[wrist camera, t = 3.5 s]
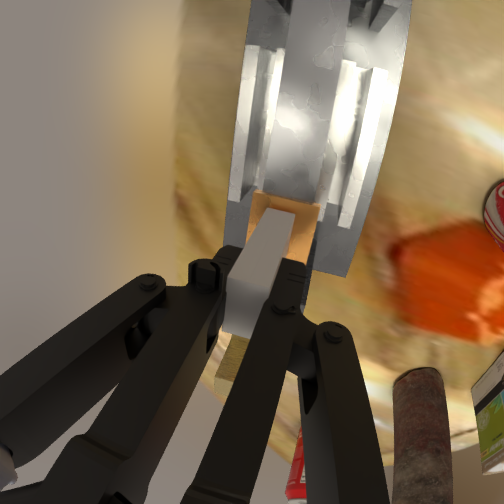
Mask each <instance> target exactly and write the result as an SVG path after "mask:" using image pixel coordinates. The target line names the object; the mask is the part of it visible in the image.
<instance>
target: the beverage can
mask: <svg viewBox="0 0 504 504" xmlns="http://www.w3.org/2000/svg"><path fill="white" fill-rule="evenodd" d="M484 220H485V225H486V228H487V230H488V232H489V233H490V234H491V236H492V237H493V238H494V240H495V241H496V242H497V244H498V245H499V247H500V248H501V249H502V251H503V252H504V182H502V183H500V184H499V185H498V186H497V187H496V188H495V189H494V190H493V191H492V193H491V194H490V196H489V198H488V200H487V203H486V206H485V212H484Z"/></svg>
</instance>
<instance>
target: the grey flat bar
mask: <svg viewBox="0 0 504 504" xmlns="http://www.w3.org/2000/svg"><path fill="white" fill-rule="evenodd" d="M350 2H351V0H293V6H292V12H291V19H290V25H289V31H288V37H287V43H286V49H285V55H284V61H283V67H282V73H281V80H280V86H279V92H278V98H277V104H276V110H275V116H274V122H273V128H272V134H271V140H270V147H269V153H268V159H267V165H266V171H265V177H264V183H263V189H262V190H258V189H256V190H255V191H254V192H253V197H252V204H251V210H250V217H249V223H248V230H247V237H246V243H247V242H248V240H249V238H250V236H251V235H252V233H253V231H254V229H255V228H256V226H257V224H258V222H259V221H260V219H261V217H262V216H263V214H264V212H265V210H266V209H267V208H272V209H276V210H280V211H285V212H289V213H293V214H295V219H294V224H293V228H292V233H291V237H290V242H289V247H288V251H287V256H286V258H287V259H291V260H295V261H299V262H303V263H304V264H305V266H306V263H307V259H308V255H309V251H310V247H311V243H312V240H313V236H314V232H315V228H316V223H317V219H318V215H319V211H320V207H321V204H319V203H315V202H314V199H315V194H316V190H317V185H318V181H319V176H320V171H321V167H322V162H323V157H324V152H325V148H326V143H327V138H328V133H329V128H330V123H331V117H332V112H333V107H334V101H335V96H336V91H337V85H338V79H339V74H340V68H341V62H342V56H343V49H344V43H345V37H346V30H347V23H348V16H349V9H350ZM246 243H245V245H246Z"/></svg>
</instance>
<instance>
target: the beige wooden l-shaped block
mask: <svg viewBox="0 0 504 504" xmlns="http://www.w3.org/2000/svg"><path fill="white" fill-rule="evenodd" d="M249 341H250V339H248V338H244V337H241V336H237V335H234V334H232V337H231V340H230V343H229V345H228V347H227V350H226V352H225V354H224V356H223V359H222V361H221V363H220V366H219V368H218V370H217V372H216V375H215V379H214V392H215V393H218V394H221V395H225V396H228V395H229V392H230V390H231V387H232V385H233V382H234V380H235V377H236V375H237V372H238V369H239V367H240V364H241V362H242V359H243V356H244V354H245V351H246V349H247V346H248V343H249Z"/></svg>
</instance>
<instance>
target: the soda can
mask: <svg viewBox="0 0 504 504" xmlns="http://www.w3.org/2000/svg"><path fill="white" fill-rule="evenodd" d="M285 494H286V496H287V498H288V501H287V503H288V504H307V499H306V482H305V467H304V452H303V439H302V426H301V427H300V431H299V435H298V440H297V444H296V449H295V453H294V457H293V462H292V466H291V470H290V474H289V478H288V482H287V486H286V490H285Z"/></svg>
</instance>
